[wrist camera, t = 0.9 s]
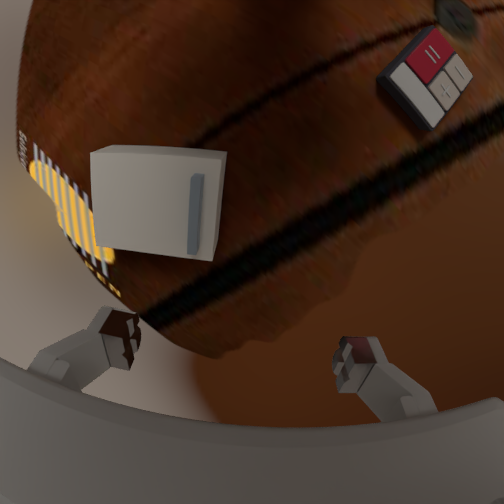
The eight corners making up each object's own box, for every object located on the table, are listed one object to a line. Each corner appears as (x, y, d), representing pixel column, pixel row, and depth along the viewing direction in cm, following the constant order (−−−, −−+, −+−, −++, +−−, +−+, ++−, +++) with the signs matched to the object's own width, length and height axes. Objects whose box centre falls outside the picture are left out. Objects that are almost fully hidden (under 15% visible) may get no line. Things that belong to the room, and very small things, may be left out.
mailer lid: (92, 151, 33) (81, 156, 30) (222, 158, 34) (219, 163, 31) (98, 243, 39) (89, 253, 37) (212, 259, 40) (209, 270, 37)
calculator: (476, 77, 28) (434, 133, 33) (461, 77, 31) (419, 130, 36) (435, 23, 24) (387, 75, 29) (421, 28, 28) (374, 79, 33)
